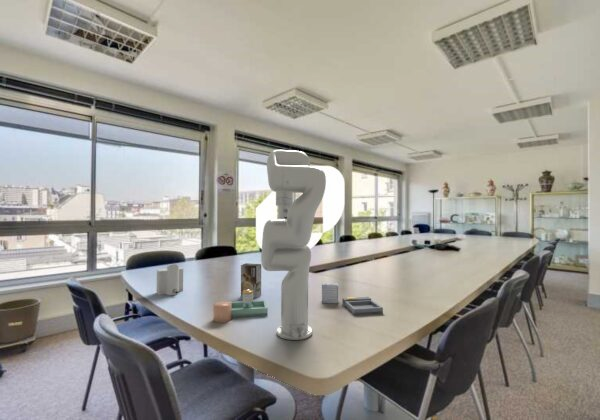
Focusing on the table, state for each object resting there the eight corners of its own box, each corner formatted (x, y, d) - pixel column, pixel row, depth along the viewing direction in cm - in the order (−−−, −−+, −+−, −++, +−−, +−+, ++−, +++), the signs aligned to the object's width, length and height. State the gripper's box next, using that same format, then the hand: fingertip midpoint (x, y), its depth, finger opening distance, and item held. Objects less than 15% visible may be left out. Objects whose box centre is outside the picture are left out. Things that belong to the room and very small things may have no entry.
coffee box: (261, 294, 151) (262, 263, 151) (256, 298, 145) (256, 266, 145) (246, 293, 153) (246, 263, 154) (240, 296, 147) (240, 264, 147)
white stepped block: (180, 289, 161) (180, 262, 161) (188, 294, 150) (189, 265, 150) (156, 292, 153) (156, 264, 153) (163, 299, 142) (164, 268, 142)
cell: (253, 311, 122) (253, 290, 122) (242, 311, 121) (242, 291, 122) (252, 307, 127) (253, 288, 127) (242, 308, 126) (242, 288, 126)
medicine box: (338, 301, 141) (338, 283, 141) (338, 303, 137) (338, 285, 137) (321, 300, 142) (321, 282, 142) (321, 303, 137) (321, 284, 138)
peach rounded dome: (231, 322, 112) (231, 306, 113) (212, 323, 111) (212, 307, 111) (231, 315, 119) (231, 301, 119) (214, 316, 118) (214, 302, 118)
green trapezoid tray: (267, 315, 120) (267, 308, 120) (227, 317, 117) (227, 310, 117) (265, 307, 131) (265, 300, 131) (229, 308, 128) (229, 302, 128)
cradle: (382, 313, 123) (382, 305, 123) (353, 315, 121) (353, 307, 121) (368, 303, 138) (368, 296, 138) (342, 304, 135) (342, 297, 135)
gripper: (295, 201, 125) (295, 241, 125) (289, 203, 142) (289, 238, 142) (278, 201, 123) (277, 241, 123) (274, 203, 140) (273, 238, 140)
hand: (283, 239), depth 132 cm, fingers open, 9 cm apart
